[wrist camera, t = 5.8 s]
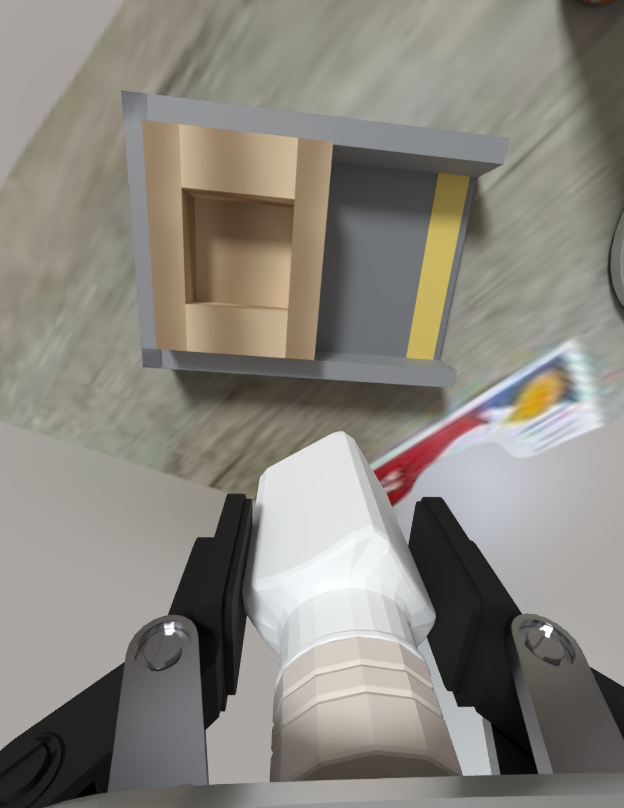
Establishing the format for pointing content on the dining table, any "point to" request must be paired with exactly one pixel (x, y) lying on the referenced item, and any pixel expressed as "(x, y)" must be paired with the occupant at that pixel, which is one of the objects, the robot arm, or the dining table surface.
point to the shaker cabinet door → (235, 239)
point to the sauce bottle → (598, 1)
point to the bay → (345, 239)
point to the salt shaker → (342, 624)
